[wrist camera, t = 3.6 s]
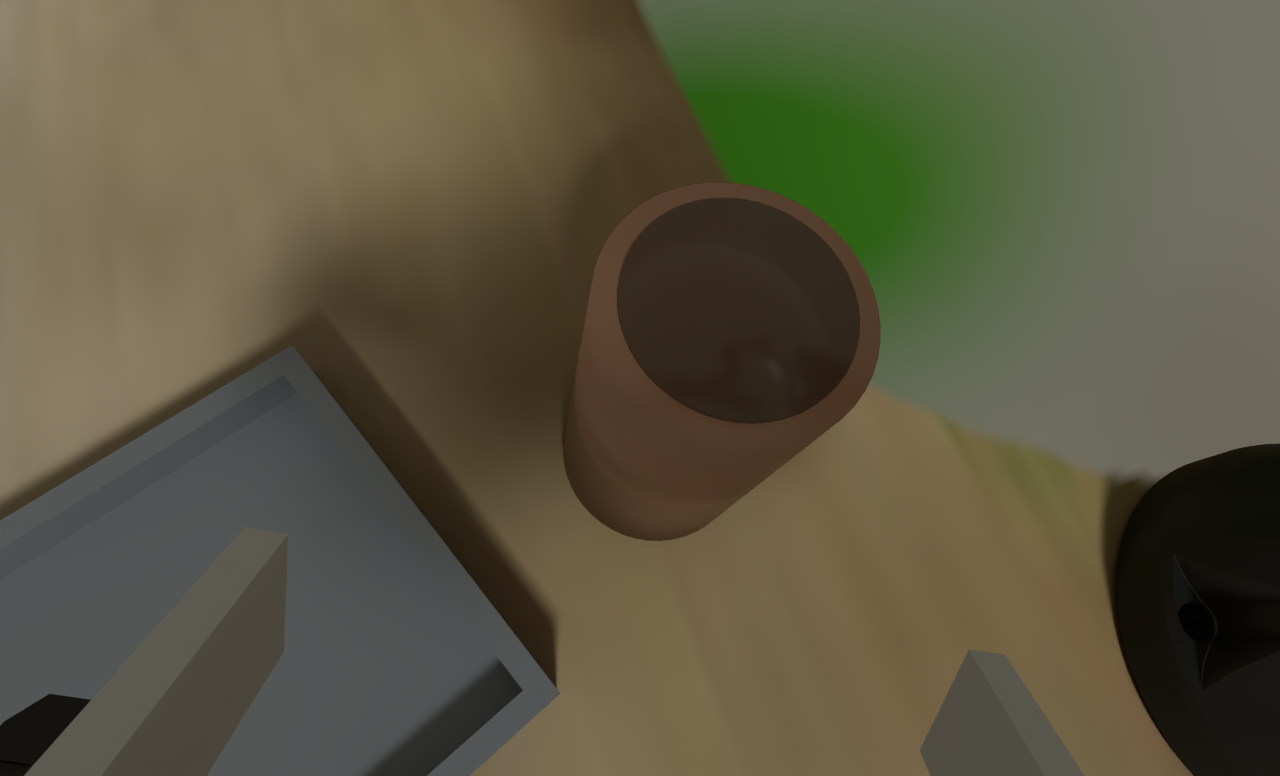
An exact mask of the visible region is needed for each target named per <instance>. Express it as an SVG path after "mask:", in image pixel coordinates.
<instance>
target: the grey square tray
mask: <svg viewBox="0 0 1280 776" xmlns="http://www.w3.org/2000/svg"><path fill="white" fill-rule="evenodd" d="M244 527H251V528H257V529H262V530H268V531H274V532H280V533H286V534H288V553H287V579H286V606H285V633H284V652H283V654H282V655H281V657H280V658H279V660H278V662H277V663H276V665H275V666H274V668H273V670H272V671H271V673H270V675H269V676H268V678H267V679H266V681H265V683H264V684H263V686H262V687H261V689H260V691H259V692H258V694H257V696H256V697H255V699H254V700H253V702H252V704H251V705H250V707H249V708H248V710H247V712H246V713H245V715H244V716H243V718H242V720H241V721H240V723H239V725H238V726H237V728H236V729H235V731H234V733H233V734H232V736H231V737H230V739H229V741H228V742H227V744H226V746H225V747H224V749H223V750H222V752H221V754H220V755H219V757H218V758H217V760H216V762H215V763H214V765H213V766H212V768H211V770H210V771H209V773H208V775H207V776H470V775H471V774H472V773H473V772H474V771H475V770H476V769H477V768H478V767H480V766H481V765H482V764H483V763H484V762H485V761H486V760H487V759H488V758H489V757H491V756H492V755H493V754H494V753H495V752H496V751H497V750H498V749H499V748H500V747H502V746H503V745H504V744H505V743H506V742H507V741H508V740H509V739H510V738H511V737H513V736H514V735H515V734H516V733H517V732H518V731H519V730H520V729H521V728H523V727H524V726H525V725H526V724H527V723H528V722H529V721H530V720H531V719H532V718H534V717H535V716H536V715H537V714H538V713H539V712H540V711H541V710H542V709H543V708H545V707H546V706H547V705H548V704H549V703H550V702H551V701H552V700H553V699H554V698H556V697H557V696H558V695H559V694H560V692H559V691H558V690H557V688H556V687H555V686H554V685H553V683H552V682H551V681H550V679H549V678H548V677H547V675H546V674H545V673H544V672H543V670H542V669H541V668H540V666H539V665H538V664H537V662H536V661H535V660H534V658H533V657H532V656H531V655H530V653H529V652H528V651H527V649H526V648H525V647H524V645H523V644H522V643H521V642H520V640H519V639H518V638H517V636H516V635H515V634H514V632H513V631H512V630H511V629H510V627H509V626H508V625H507V623H506V622H505V621H504V619H503V618H502V617H501V616H500V614H499V613H498V612H497V610H496V609H495V608H494V606H493V605H492V604H491V603H490V601H489V600H488V599H487V597H486V596H485V595H484V593H483V592H482V591H481V589H480V588H479V587H478V586H477V584H476V583H475V582H474V580H473V579H472V578H471V576H470V575H469V574H468V573H467V571H466V570H465V569H464V567H463V566H462V565H461V563H460V562H459V561H458V560H457V558H456V557H455V556H454V554H453V553H452V552H451V550H450V549H449V548H448V547H447V545H446V544H445V543H444V541H443V540H442V539H441V537H440V536H439V535H438V534H437V532H436V531H435V530H434V528H433V527H432V526H431V524H430V523H429V522H428V520H427V519H426V518H425V517H424V515H423V514H422V513H421V511H420V510H419V509H418V507H417V506H416V505H415V504H414V502H413V501H412V500H411V498H410V497H409V496H408V494H407V493H406V492H405V491H404V489H403V488H402V487H401V485H400V484H399V483H398V481H397V480H396V479H395V478H394V476H393V475H392V474H391V472H390V471H389V470H388V468H387V467H386V466H385V465H384V463H383V462H382V461H381V459H380V458H379V457H378V455H377V454H376V453H375V451H374V450H373V449H372V448H371V446H370V445H369V444H368V442H367V441H366V440H365V438H364V437H363V436H362V435H361V433H360V432H359V431H358V429H357V428H356V427H355V425H354V424H353V423H352V422H351V420H350V419H349V418H348V416H347V415H346V414H345V412H344V411H343V410H342V409H341V407H340V406H339V405H338V403H337V402H336V401H335V399H334V398H333V397H332V396H331V394H330V393H329V392H328V390H327V389H326V388H325V386H324V385H323V384H322V382H321V381H320V380H319V379H318V377H317V376H316V375H315V373H314V372H313V371H312V369H311V368H310V367H309V366H308V364H307V363H306V362H305V360H304V359H303V358H302V356H301V355H300V354H299V353H298V351H297V350H296V349H295V347H294V346H293V345H291V346H289V347H287V348H286V349H284V350H282V351H281V352H279V353H277V354H276V355H274V356H272V357H271V358H269V359H267V360H266V361H264V362H262V363H261V364H259V365H257V366H256V367H254V368H252V369H251V370H249V371H247V372H246V373H244V374H242V375H241V376H239V377H237V378H236V379H234V380H232V381H231V382H229V383H227V384H226V385H224V386H222V387H221V388H219V389H218V390H216V391H214V392H213V393H211V394H209V395H208V396H206V397H204V398H203V399H201V400H199V401H198V402H196V403H194V404H193V405H191V406H189V407H188V408H186V409H184V410H183V411H181V412H179V413H178V414H176V415H174V416H173V417H171V418H169V419H168V420H166V421H164V422H163V423H161V424H159V425H158V426H156V427H154V428H153V429H151V430H149V431H148V432H146V433H144V434H143V435H141V436H139V437H138V438H136V439H134V440H133V441H131V442H129V443H128V444H126V445H124V446H123V447H121V448H120V449H118V450H116V451H115V452H113V453H111V454H110V455H108V456H106V457H105V458H103V459H101V460H100V461H98V462H96V463H95V464H93V465H91V466H90V467H88V468H86V469H85V470H83V471H81V472H80V473H78V474H76V475H75V476H73V477H71V478H70V479H68V480H66V481H65V482H63V483H61V484H60V485H58V486H56V487H55V488H53V489H51V490H50V491H48V492H46V493H45V494H43V495H41V496H40V497H38V498H36V499H35V500H33V501H31V502H30V503H28V504H26V505H25V506H23V507H21V508H20V509H18V510H17V511H15V512H13V513H12V514H10V515H8V516H7V517H5V518H3V519H2V520H0V725H1V724H2V723H3V722H4V721H6V720H7V719H9V718H10V717H12V716H14V715H15V714H17V713H19V712H20V711H22V710H24V709H25V708H27V707H28V706H30V705H32V704H33V703H35V702H37V701H38V700H40V699H42V698H43V697H45V696H47V695H48V694H56V695H62V696H69V697H76V698H83V699H90V700H92V698H93V697H94V696H95V695H96V694H97V693H98V692H99V691H100V689H101V688H102V687H103V686H104V685H105V684H106V683H107V681H108V680H109V679H110V678H111V677H112V676H113V675H114V674H115V672H116V671H117V670H118V669H119V668H120V667H121V666H122V665H123V663H124V662H125V661H126V660H127V659H128V658H129V657H130V656H131V654H132V653H133V652H134V651H135V650H136V649H137V648H138V646H139V645H140V644H141V643H142V642H143V641H144V640H145V639H146V637H147V636H148V635H149V634H150V633H151V632H152V631H153V630H154V628H155V627H156V626H157V625H158V624H159V623H160V622H161V621H162V619H163V618H164V617H165V616H166V615H167V614H168V613H169V611H170V610H171V609H172V608H173V607H174V606H175V605H176V604H177V602H178V601H179V600H180V599H181V598H182V597H183V596H184V595H185V593H186V592H187V591H188V590H189V589H190V588H191V587H192V586H193V584H194V583H195V582H196V581H197V580H198V579H199V578H200V577H201V575H202V574H203V573H204V572H205V571H206V570H207V569H208V567H209V566H210V565H211V564H212V563H213V562H214V561H215V560H216V558H217V557H218V556H219V555H220V554H221V553H222V552H223V551H224V549H225V548H226V547H227V546H228V545H229V544H230V543H231V542H232V540H233V539H234V538H235V537H236V536H237V535H238V534H239V532H240V531H241V530H242V529H243V528H244Z"/></svg>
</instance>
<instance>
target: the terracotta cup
mask: <svg viewBox="0 0 1280 776" xmlns="http://www.w3.org/2000/svg"><path fill="white" fill-rule="evenodd" d="M879 319H880V318H879V310H878V306H877V302H876V298H875V294H874V291H873V289H872V286H871V284H870V281H869V279H868V276H867V274H866V273H865V271H864V269H863V267H862V265H861V264H860V262H859V260H858V259H857V257H856V256H855V254H854V253H853V251H852V250H851V249H850V247H849V246H848V245H847V244H846V243H845V241H844V240H843V239H842V238H841V237H840V236H839V235H838V234H837V232H836V231H834V230H833V229H832V228H831V227H830V226H829V225H828V224H827V223H825V222H824V221H823V220H822V219H821V218H819V217H818V216H817V215H815V214H814V213H812V212H811V211H810V210H808V209H806V208H805V207H803V206H801V205H800V204H798V203H796V202H794V201H793V200H790V199H788V198H786V197H784V196H781V195H779V194H777V193H774V192H771V191H768V190H765V189H762V188H758V187H754V186H749V185H744V184H737V183H727V182H706V183H698V184H690V185H686V186H682V187H678V188H674V189H671V190H669V191H666V192H664V193H661V194H659V195H656V196H655V197H653V198H651V199H649V200H647V201H646V202H644V203H642V204H641V205H639V206H638V207H637V208H635V209H634V210H633V211H631V212H630V213H629V214H628V215H627V216H626V217H625V218H624V219H623V220H622V221H621V222H620V223H619V224H618V225H617V226H616V228H615V229H614V230H613V232H612V233H611V234H610V236H609V237H608V239H607V241H606V242H605V244H604V246H603V248H602V250H601V252H600V254H599V257H598V260H597V263H596V266H595V268H594V273H593V279H592V284H591V290H590V295H589V301H588V306H587V312H586V317H585V323H584V328H583V334H582V339H581V345H580V350H579V356H578V361H577V367H576V372H575V378H574V383H573V389H572V394H571V400H570V405H569V411H568V416H567V422H566V427H565V433H564V438H563V459H564V465H565V470H566V474H567V477H568V479H569V482H570V485H571V487H572V489H573V491H574V492H575V494H576V496H577V498H578V499H579V500H580V502H581V503H582V505H583V506H584V507H585V508H586V509H587V510H588V511H589V512H590V513H591V514H592V515H593V516H594V517H595V518H596V519H597V520H599V521H600V522H601V523H603V524H604V525H606V526H607V527H609V528H611V529H612V530H614V531H617V532H619V533H621V534H623V535H626V536H629V537H633V538H636V539H642V540H652V541H662V540H672V539H676V538H680V537H684V536H687V535H689V534H692V533H694V532H696V531H698V530H700V529H701V528H703V527H705V526H706V525H707V524H709V523H710V522H711V521H713V520H714V519H715V518H717V517H718V516H719V515H720V514H722V513H723V512H724V511H725V510H727V509H728V508H729V507H730V506H732V505H733V504H734V503H736V502H737V501H738V500H739V499H741V498H742V497H743V496H744V495H746V494H747V493H748V492H750V491H751V490H752V489H753V488H755V487H756V486H757V485H758V484H760V483H761V482H762V481H764V480H765V479H766V478H767V477H769V476H770V475H771V474H772V473H774V472H775V471H776V470H777V469H779V468H780V467H781V466H783V465H784V464H785V463H786V462H788V461H789V460H790V459H791V458H793V457H794V456H795V455H797V454H798V453H799V452H800V451H802V450H803V449H804V448H805V447H807V446H808V445H809V444H810V443H812V442H813V441H814V440H816V439H817V438H818V437H819V436H821V435H822V434H823V433H824V432H826V431H827V430H828V429H830V428H831V427H832V426H833V425H835V424H836V423H837V422H838V421H840V420H841V419H842V418H843V417H844V416H845V415H846V414H847V413H848V412H849V411H850V410H851V409H852V408H853V407H854V406H855V405H856V403H857V402H858V400H859V399H860V398H861V396H862V395H863V393H864V392H865V390H866V388H867V386H868V384H869V382H870V380H871V378H872V376H873V372H874V370H875V366H876V363H877V360H878V354H879V348H880V320H879Z"/></svg>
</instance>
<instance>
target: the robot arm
mask: <svg viewBox="0 0 1280 776" xmlns="http://www.w3.org/2000/svg"><path fill="white" fill-rule="evenodd" d="M287 553H288V534H286V533H280V532H274V531H268V530H262V529H257V528H251V527H244V528H243V529H242V530H241V531H240V532H239V534H238V535H237V536H236V537H235V538H234V539H233V540H232V542H231V543H230V544H229V545H228V546H227V547H226V548H225V549H224V551H223V552H222V553H221V554H220V555H219V556H218V557H217V558H216V560H215V561H214V562H213V563H212V564H211V565H210V566H209V567H208V569H207V570H206V571H205V572H204V573H203V574H202V575H201V577H200V578H199V579H198V580H197V581H196V582H195V583H194V584H193V586H192V587H191V588H190V589H189V590H188V591H187V592H186V593H185V595H184V596H183V597H182V598H181V599H180V600H179V601H178V602H177V604H176V605H175V606H174V607H173V608H172V609H171V610H170V611H169V613H168V614H167V615H166V616H165V617H164V618H163V619H162V621H161V622H160V623H159V624H158V625H157V626H156V627H155V628H154V630H153V631H152V632H151V633H150V634H149V635H148V636H147V637H146V639H145V640H144V641H143V642H142V643H141V644H140V645H139V646H138V648H137V649H136V650H135V651H134V652H133V653H132V654H131V656H130V657H129V658H128V659H127V660H126V661H125V662H124V663H123V665H122V666H121V667H120V668H119V669H118V670H117V671H116V672H115V674H114V675H113V676H112V677H111V678H110V679H109V680H108V681H107V683H106V684H105V685H104V686H103V687H102V688H101V689H100V691H99V692H98V693H97V694H96V695H95V696H94V697H93V698H92V700H90V699H83V698H76V697H69V696H62V695H56V694H48V695H47V696H45V697H43V698H42V699H40V700H38V701H37V702H35V703H33V704H32V705H30V706H28V707H27V708H25V709H24V710H22V711H20V712H19V713H17V714H15V715H14V716H12V717H10V718H9V719H7V720H6V721H4V722H3V723H2V724H1V725H0V776H207V775H208V773H209V771H210V770H211V768H212V766H213V765H214V763H215V762H216V760H217V758H218V757H219V755H220V754H221V752H222V750H223V749H224V747H225V746H226V744H227V742H228V741H229V739H230V737H231V736H232V734H233V733H234V731H235V729H236V728H237V726H238V725H239V723H240V721H241V720H242V718H243V716H244V715H245V713H246V712H247V710H248V708H249V707H250V705H251V704H252V702H253V700H254V699H255V697H256V696H257V694H258V692H259V691H260V689H261V687H262V686H263V684H264V683H265V681H266V679H267V678H268V676H269V675H270V673H271V671H272V670H273V668H274V666H275V665H276V663H277V662H278V660H279V658H280V657H281V655H282V654H283V652H284V633H285V606H286V579H287ZM1116 600H1117V611H1118V619H1119V625H1120V631H1121V635H1122V640H1123V644H1124V648H1125V652H1126V655H1127V658H1128V662H1129V665H1130V668H1131V670H1132V673H1133V676H1134V679H1135V681H1136V684H1137V686H1138V688H1139V691H1140V693H1141V695H1142V697H1143V699H1144V701H1145V703H1146V705H1147V708H1148V710H1149V711H1150V713H1151V715H1152V717H1153V719H1154V720H1155V722H1156V724H1157V726H1158V727H1159V729H1160V731H1161V732H1162V734H1163V735H1164V737H1165V738H1166V740H1167V741H1168V743H1169V744H1170V746H1171V747H1172V749H1173V750H1174V751H1175V753H1176V754H1177V756H1178V757H1179V758H1180V759H1181V761H1182V762H1183V763H1184V764H1185V766H1186V767H1187V768H1188V769H1189V770H1190V772H1191V773H1192V774H1193V775H1194V776H1280V444H1264V445H1256V446H1249V447H1243V448H1239V449H1235V450H1231V451H1228V452H1225V453H1222V454H1218V455H1215V456H1212V457H1209V458H1205V459H1202V460H1199V461H1196V462H1193V463H1190V464H1187V465H1185V466H1182V467H1180V468H1178V469H1176V470H1174V471H1173V472H1171V473H1169V474H1168V475H1166V476H1165V477H1163V478H1162V479H1161V480H1159V481H1158V482H1157V483H1156V484H1155V485H1154V486H1153V487H1152V488H1151V489H1150V490H1149V491H1148V492H1147V493H1146V494H1145V496H1144V497H1143V498H1142V500H1141V501H1140V502H1139V504H1138V505H1137V507H1136V509H1135V510H1134V512H1133V514H1132V516H1131V518H1130V520H1129V522H1128V525H1127V527H1126V530H1125V533H1124V536H1123V539H1122V543H1121V547H1120V552H1119V557H1118V564H1117V575H1116ZM920 752H921V754H922V757H923V759H924V761H925V764H926V766H927V768H928V771H929V773H930V775H931V776H1084V774H1083V773H1082V771H1081V770H1080V768H1079V767H1078V765H1077V764H1076V762H1075V761H1074V759H1073V758H1072V756H1071V755H1070V753H1069V752H1068V750H1067V748H1066V747H1065V745H1064V744H1063V742H1062V741H1061V739H1060V738H1059V736H1058V735H1057V733H1056V732H1055V730H1054V729H1053V727H1052V726H1051V724H1050V723H1049V721H1048V720H1047V718H1046V717H1045V715H1044V713H1043V712H1042V710H1041V709H1040V707H1039V706H1038V704H1037V703H1036V701H1035V700H1034V698H1033V697H1032V695H1031V694H1030V692H1029V691H1028V689H1027V688H1026V686H1025V685H1024V683H1023V681H1022V680H1021V678H1020V677H1019V675H1018V674H1017V672H1016V671H1015V669H1014V668H1013V666H1012V665H1011V663H1010V662H1009V660H1008V659H1007V657H1006V656H1005V655H1000V654H994V653H988V652H982V651H976V650H970V649H969V650H968V652H967V654H966V656H965V658H964V661H963V663H962V665H961V667H960V669H959V671H958V673H957V675H956V677H955V679H954V681H953V683H952V685H951V687H950V689H949V691H948V693H947V695H946V698H945V700H944V702H943V704H942V706H941V708H940V710H939V712H938V714H937V716H936V718H935V720H934V722H933V724H932V726H931V728H930V730H929V732H928V734H927V737H926V739H925V741H924V743H923V745H922V747H921V749H920Z"/></svg>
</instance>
